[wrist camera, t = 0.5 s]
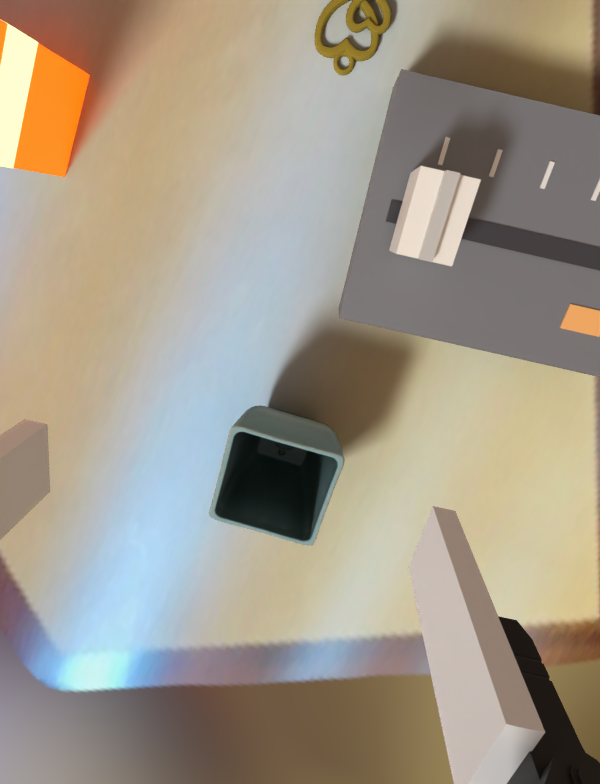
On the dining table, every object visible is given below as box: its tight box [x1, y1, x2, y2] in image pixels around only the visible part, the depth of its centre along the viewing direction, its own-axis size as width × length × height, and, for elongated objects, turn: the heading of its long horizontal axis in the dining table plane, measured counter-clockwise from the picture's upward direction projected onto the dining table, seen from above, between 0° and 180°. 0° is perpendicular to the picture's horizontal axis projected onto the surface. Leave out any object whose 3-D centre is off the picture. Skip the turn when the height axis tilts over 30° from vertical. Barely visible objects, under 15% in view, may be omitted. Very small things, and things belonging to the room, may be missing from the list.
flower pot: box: [209, 406, 344, 545], centre depth 37 cm, size 9×9×9 cm
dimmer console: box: [339, 69, 600, 377], centre depth 32 cm, size 16×22×4 cm
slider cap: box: [389, 166, 481, 266], centre depth 27 cm, size 5×4×4 cm
